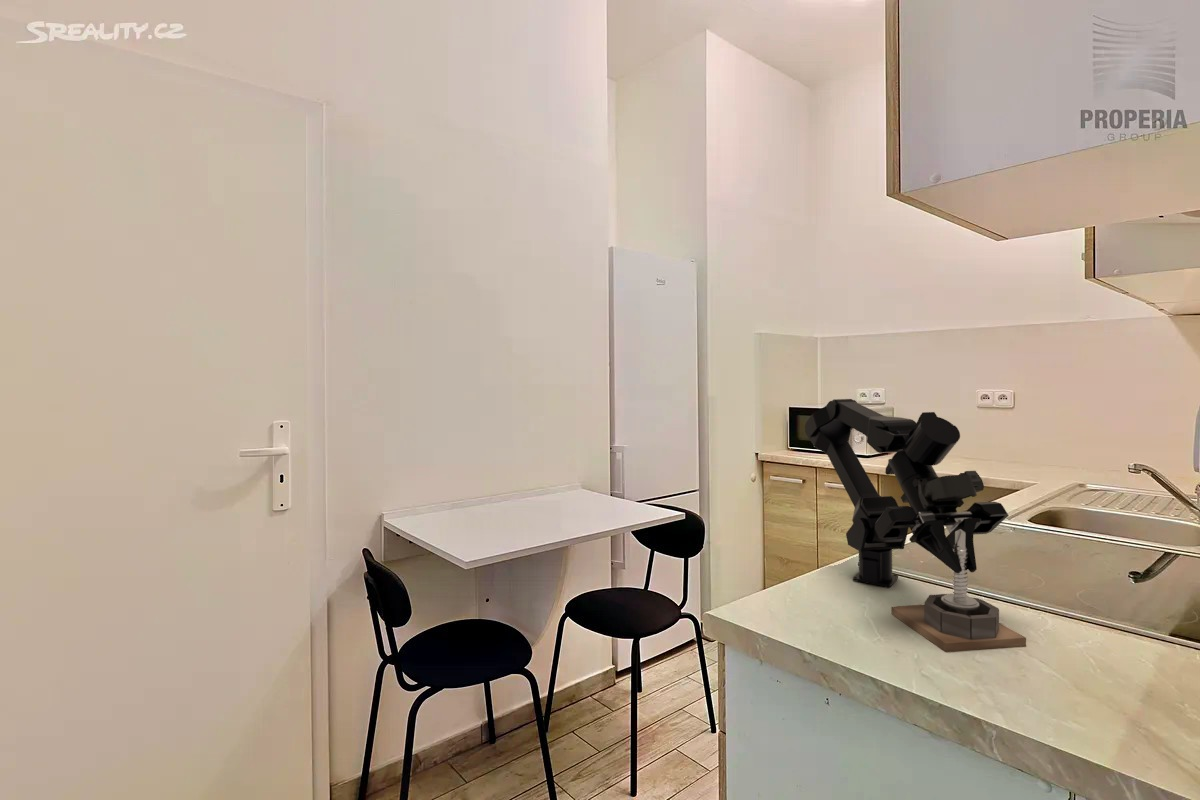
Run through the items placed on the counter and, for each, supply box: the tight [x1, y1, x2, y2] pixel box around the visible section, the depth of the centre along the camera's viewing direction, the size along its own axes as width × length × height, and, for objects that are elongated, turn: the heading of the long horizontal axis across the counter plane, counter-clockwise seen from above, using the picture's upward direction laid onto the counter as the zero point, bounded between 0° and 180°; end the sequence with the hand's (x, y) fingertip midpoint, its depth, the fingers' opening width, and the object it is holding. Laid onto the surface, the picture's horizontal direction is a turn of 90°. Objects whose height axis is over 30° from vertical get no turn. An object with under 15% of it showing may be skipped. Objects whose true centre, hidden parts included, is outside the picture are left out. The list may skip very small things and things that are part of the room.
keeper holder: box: [890, 593, 1027, 653], centre depth 88 cm, size 13×12×4 cm
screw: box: [941, 529, 979, 616], centre depth 86 cm, size 13×5×5 cm
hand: (966, 571), depth 85 cm, fingers closed on screw, 2 cm apart
